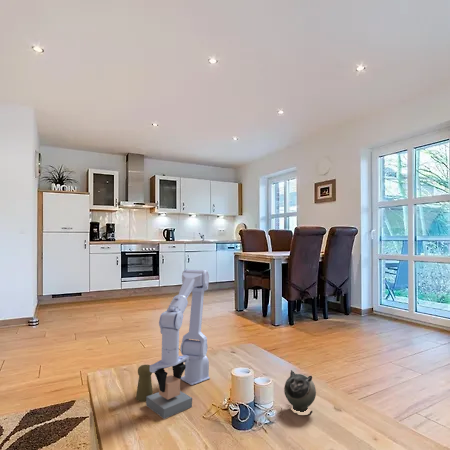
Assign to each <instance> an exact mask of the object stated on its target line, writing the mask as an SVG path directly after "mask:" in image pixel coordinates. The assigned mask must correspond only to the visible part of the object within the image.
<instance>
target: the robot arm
mask: <svg viewBox="0 0 450 450" xmlns="http://www.w3.org/2000/svg"><path fill="white" fill-rule="evenodd" d="M208 271H209V270H207V269H190V268H185V269H184V270H183V271H182V275H181V282H182V284H181V287H180V289H179V292H178V294H177V295H174V296H173V298H171V299H172V300H171V301H170V303H169V305H168V307H167V308H166V310H165V311H163V312H162V313H161V314H160V316H159V320H158V326H159V328H160V329H159V330H160V334H161V359H160V360H159V361H157V362H155V363H152V364H149V365H150V372H152V374H154V375H155V377H156V378H155V379H156V380H157V384H158V389H159V388H160V391H162V392H165V383H166V377H167V376H168V372H166V370H165V369H167V368H171V367H172V376H174V377H176V378H178V379H180V381H183V382H185V383H187V384H188V385H191V386H193V385H197V384H199V383H201V382H204V381H207V380H210V378H211V377H210V375H209V371H210V370H209V369H210V368H209V367H210V365H209V364H210V361H209V358H208V356H207V352H208V337H207V336H206V335H205V334H204V333H203V332H202V323H203V322H202V321H203V309H204V308H203V307H204V298H205V297H204V296H205V291H208V290H209V283H210V281H209V280H210V275H209V272H208ZM190 294H191V295H190ZM189 296H191V304H190V316H189V325H188V327H189V329H188V331H187V332H186V333H185V334H184V335H183V336H182V339H181V340H182V341H181V343H180V329H181V327H182V325H183V319H184V314H185V311H186V309H187V306H188V304H189V301H188V298H189ZM179 346H180V348H179ZM179 350H180V351H179ZM179 352H180V353H181V355H179ZM183 373H184V375H183Z"/></svg>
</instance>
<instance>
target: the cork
mask: <svg viewBox="0 0 450 450" xmlns="http://www.w3.org/2000/svg"><path fill="white" fill-rule="evenodd" d="M150 365H151V364H142V365H139V366H138V369H137V375H138V381H137V387H136V392H135V393H136V394H135V400H136V401H138V402H146V396H149V395H152V394H154V393H153V382H152V374H153V373H152V372H150Z"/></svg>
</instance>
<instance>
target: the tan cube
mask: <svg viewBox="0 0 450 450" xmlns="http://www.w3.org/2000/svg"><path fill="white" fill-rule="evenodd" d="M180 391H181V379H178V378H176V377H174V376H173V374H170V375H167V377H166V383H165V392H162V391H160V388H159V387H158V392H159V395H161V396H162V397H164V398H166V399H167V400H168V399H171V398H173V397H175V396H178V395H180Z"/></svg>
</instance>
